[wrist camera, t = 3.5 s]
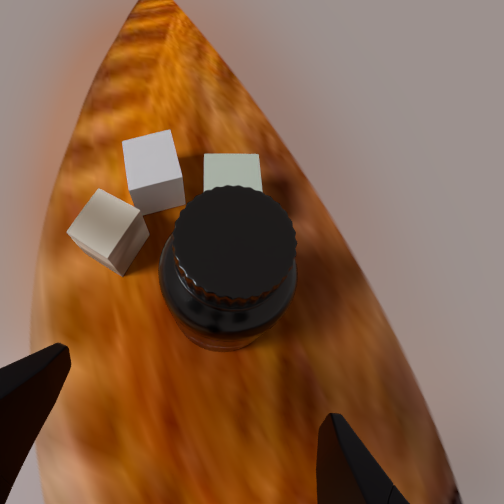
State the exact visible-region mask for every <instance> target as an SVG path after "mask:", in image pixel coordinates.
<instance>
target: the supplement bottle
mask: <svg viewBox="0 0 504 504" xmlns="http://www.w3.org/2000/svg"><path fill="white" fill-rule="evenodd" d="M295 235H296V232H295V230H294V229H293V227H292V221H291V220H290V219H289V218H288V215H287V212H286V211H285V210H283V209H282V208H281V206H280V204H279V203H277V202H275V201H274V200H273V199H272V198H271V196H268V195H265V194H264V193H263V192H261V191H258V190H254V189H252V188H251V187H242V186H240V185H236V186H231V185H225V186H223V187H215V188H213V189H212V190H205V191H204V192H203V193H202V194H200V195H197V196H195V198H194V199H193V201H190V202H188V203H187V205H186V207H185V209H183V210H182V211H181V212H180V216H179V218H178V219H177V220H176V222H175V229H174V231H173V232H172V233H171V235H170V236H169V238H168V239H167V241H166V243H165V245H164V248H163V250H162V253H161V256H160V261H159V269H158V275H159V284H160V288H161V292H162V295H163V298H164V300H165V303H166V305H167V307H168V309H169V310H170V312H171V314H172V316H173V318H174V319H175V321H176V323H177V325H178V326H179V328H180V329H181V331H182V332H183V333H184V335H185V336H186V337H187V338H188V339H189V340H190V341H192V342H193V343H194V344H196V345H198V346H199V347H201V348H204V349H207V350H210V351H215V352H229V351H234V350H238V349H240V348H243V347H244V346H246V345H248V344H250V343H251V342H253V341H254V340H255V339H257V338H258V337H259V336H261V335H262V334H263V333H265V332H266V331H267V330H269V329H270V328H271V327H272V326H273V325H275V324H276V323H277V322H278V321H279V320H280V319H281V317H282V316H283V315H284V314H285V312H286V311H287V309H288V308H289V306H290V304H291V302H292V300H293V297H294V294H295V291H296V286H297V264H296V259H295V257H296V249H295V248H296V246H297V241H296V239H295Z"/></svg>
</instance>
